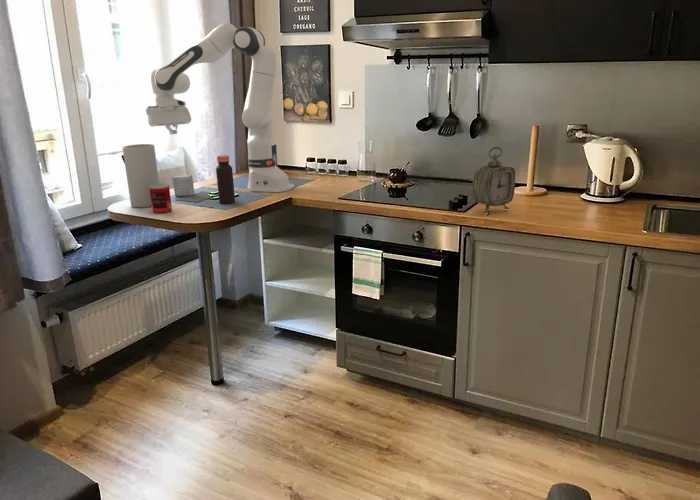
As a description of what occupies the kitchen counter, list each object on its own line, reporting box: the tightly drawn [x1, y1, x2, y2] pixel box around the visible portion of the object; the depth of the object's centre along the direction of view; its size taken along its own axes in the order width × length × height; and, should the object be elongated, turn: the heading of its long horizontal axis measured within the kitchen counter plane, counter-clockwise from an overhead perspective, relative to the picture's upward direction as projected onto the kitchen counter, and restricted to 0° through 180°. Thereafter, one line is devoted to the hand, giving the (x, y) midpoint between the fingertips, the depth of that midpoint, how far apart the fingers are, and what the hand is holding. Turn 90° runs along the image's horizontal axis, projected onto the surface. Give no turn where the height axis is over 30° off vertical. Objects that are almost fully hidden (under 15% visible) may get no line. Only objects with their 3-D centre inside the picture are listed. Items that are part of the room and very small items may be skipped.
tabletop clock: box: [472, 146, 516, 214], centre depth 216 cm, size 14×9×25 cm, turn 124°
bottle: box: [215, 154, 236, 205], centre depth 242 cm, size 7×7×20 cm
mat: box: [175, 190, 212, 203], centre depth 257 cm, size 12×18×1 cm, turn 154°
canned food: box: [149, 182, 173, 215], centre depth 231 cm, size 8×8×11 cm
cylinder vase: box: [122, 143, 160, 209], centre depth 241 cm, size 12×12×25 cm
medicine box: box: [171, 174, 195, 197], centre depth 259 cm, size 8×4×9 cm, turn 84°
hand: (173, 134), depth 266 cm, fingers closed
